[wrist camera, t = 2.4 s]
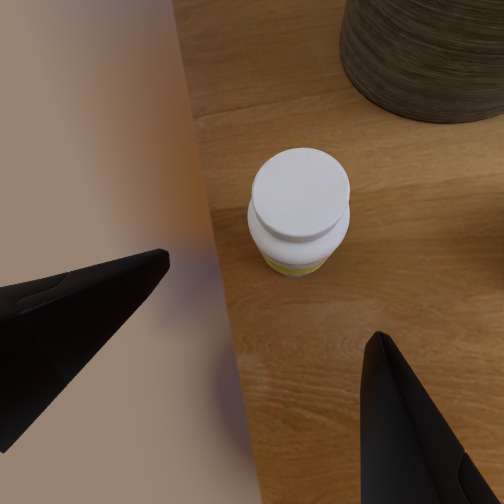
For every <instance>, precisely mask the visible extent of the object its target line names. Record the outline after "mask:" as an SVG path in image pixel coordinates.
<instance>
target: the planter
mask: <svg viewBox="0 0 504 504" xmlns="http://www.w3.org/2000/svg"><path fill="white" fill-rule="evenodd" d="M339 47H340V56H341V60H342V64H343V67H344V69H345V71H346V73H347V75H348V77H349V78H350V80H351V81H352V83H353V84H354V85H355V86H356V87H357V89H358V90H359V91H360V92H361V93H363V94H364V95H365V96H366V97H367V98H369V99H370V100H371V101H373V102H374V103H376V104H377V105H379V106H381V107H383V108H385V109H387V110H389V111H391V112H394V113H397V114H399V115H402V116H405V117H409V118H413V119H417V120H423V121H430V122H444V123H454V122H467V121H475V120H480V119H486V118H489V117H493V116H497V115H500V114H503V113H504V0H346V4H345V10H344V16H343V21H342V27H341V33H340V43H339Z"/></svg>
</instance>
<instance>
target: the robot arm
mask: <svg viewBox="0 0 504 504" xmlns="http://www.w3.org/2000/svg"><path fill="white" fill-rule="evenodd" d="M169 268H170V260H169V253H168V251H166V250H163V249H155V250H152V251H148V252H144V253H140V254H136V255H132V256H128V257H124V258H121V259H117V260H113V261H109V262H105V263H101V264H97V265H93V266H89V267H85V268H82V269H78V270H74V271H70V272H66V273H62V274H58V275H55V276H50V277H46V278H42V279H38V280H33V281H29V282H23V283H19V284H14V285H9V286H4V287H0V452H2V453H5V452H6V451H7V450H8V449H9V448H10V447H11V446H12V445H13V444H14V443H15V442H16V440H17V439H18V438H19V437H20V436H21V435H22V434H23V433H24V432H25V431H26V430H27V429H28V427H29V426H30V425H31V424H32V423H33V422H34V421H35V420H36V419H37V418H38V417H39V416H40V414H41V413H42V412H43V411H44V410H45V409H46V408H47V406H49V405H50V404H51V402H52V401H53V400H54V399H55V398H56V397H57V396H58V394H60V393H61V392H62V390H63V389H64V388H65V387H66V386H67V385H68V384H69V383H70V381H72V379H73V378H74V377H75V376H76V375H77V374H78V373H79V372H80V371H81V370H82V368H83V367H84V366H85V365H86V364H87V363H88V362H89V361H90V360H91V359H92V358H93V356H94V355H95V354H96V353H97V352H98V351H99V350H100V349H101V348H102V347H103V346H104V345H105V343H106V342H107V341H108V340H109V339H110V338H111V337H112V336H113V335H114V334H115V333H116V331H117V330H118V329H119V328H120V327H121V326H122V325H123V324H124V323H125V322H126V321H127V319H128V318H129V317H130V316H131V315H132V314H133V313H134V312H135V311H136V310H137V309H138V307H139V306H140V305H141V304H142V303H143V302H144V301H145V300H146V299H147V298H148V296H149V295H150V294H151V293H152V292H153V290H154V289H155V287H156V286H157V285H158V284H159V282H160V281H161V279H162V278H163V277H164V275H165V274H166V273H167V271H168V270H169ZM360 437H361V504H501V503H500V501H499V500H498V499H497V497H496V496H495V494H494V493H493V491H492V490H491V488H490V487H489V485H488V484H487V482H486V481H485V479H484V478H483V476H482V475H481V474H480V472H479V471H478V469H477V468H476V466H475V465H474V463H473V461H472V460H471V458H470V457H469V455H468V454H467V453H466V452H464V448H463V446H462V445H461V443H460V442H459V440H458V439H457V437H456V436H455V434H454V433H453V431H452V430H451V428H450V427H449V425H448V424H447V422H446V421H445V419H444V418H443V416H442V415H441V413H440V411H439V410H438V408H437V407H436V405H435V404H434V402H433V401H432V399H431V398H430V396H429V395H428V393H427V392H426V390H425V389H424V387H423V386H422V384H421V383H420V381H419V380H418V378H417V376H416V375H415V373H414V372H413V370H412V369H411V367H410V366H409V364H408V363H407V361H406V360H405V358H404V357H403V355H402V354H401V352H400V351H399V349H398V348H397V346H396V345H395V343H394V341H393V340H392V338H391V337H390V336H389V335H388V334H385V333H382V332H380V331H376V332H375V333H374V334H373V336H372V337H371V338H370V340H369V341H368V342H367V344H366V346H365V351H364V360H363V368H362V377H361V387H360Z"/></svg>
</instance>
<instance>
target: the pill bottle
mask: <svg viewBox="0 0 504 504" xmlns="http://www.w3.org/2000/svg"><path fill="white" fill-rule="evenodd" d="M349 197H350V185H349V180H348V177H347V175H346V172H345V171H344V169H343V168H342V166H341V165H340V164H339V163H338V162H337V161H336V160H335V159H334V158H333V157H331V156H330V155H328V154H327V153H324V152H322V151H319V150H316V149H312V148H294V149H290V150H286V151H283V152H281V153H279V154H277V155H275V156H274V157H272V158H271V159H269V160H268V161H267V162H266V163H265V164H264V165H263V166H262V167H261V168H260V170H259V171H258V173H257V175H256V177H255V179H254V182H253V186H252V198H251V200H250V203H249V207H248V226H249V230H250V233H251V236H252V238H253V240H254V242H255V243H256V245H257V247H258V249H259V250H260V252H261V254H262V256H263V258H264V259H265V261H266V262H267V264H268V265H269V266H270V267H271V268H272V269H273V270H275V271H276V272H278V273H280V274H282V275H284V276H288V277H301V276H305V275H308V274H310V273H312V272H314V271H315V270H317V269H318V268H319V267H320V266H321V265H322V264H323V263H324V262H325V260H326V259H327V258H328V257H329V256H330V255H331V254H332V253H333V252H334V250H335V249H336V248H337V247H338V246H339V245H340V243H341V242H342V240H343V238H344V236H345V234H346V232H347V229H348V225H349V220H350V210H349V204H348V201H349Z"/></svg>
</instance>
